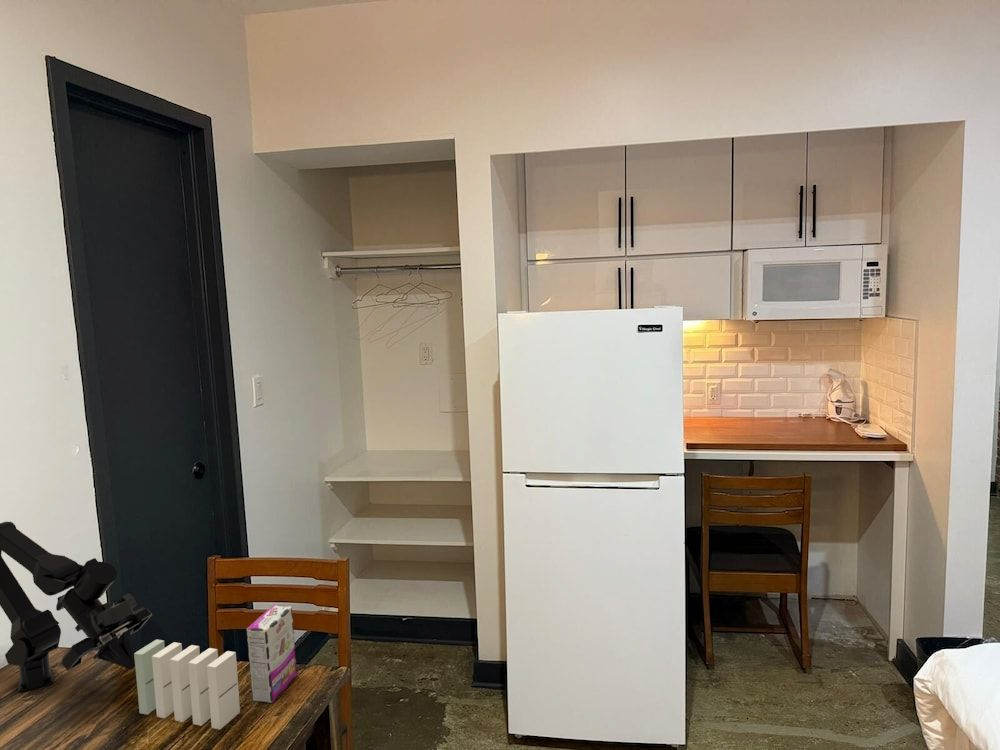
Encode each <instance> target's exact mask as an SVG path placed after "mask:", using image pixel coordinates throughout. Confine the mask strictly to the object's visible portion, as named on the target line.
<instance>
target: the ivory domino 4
mask: <svg viewBox="0 0 1000 750" xmlns="http://www.w3.org/2000/svg"><path fill="white" fill-rule="evenodd" d="M207 674H208V687H209V700H210V712H211V718H210V723H211V724H210V725H211V729H216V730H222V729H223V728H224V727H225V726H226V725H228V724H229V723H230V722H231V721H232V720H234V718H235V717H237V715H239V714H240V713H241V707H240V693H239V677H238V665H237V652H236V651H230V650H227V651H225V652H223V653H222V654H221V655H220V656H218V658H217V659H216V660H214V661H213V662H212V663H210V664H209V665H207Z"/></svg>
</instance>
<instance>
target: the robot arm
mask: <svg viewBox="0 0 1000 750" xmlns="http://www.w3.org/2000/svg"><path fill="white" fill-rule="evenodd" d="M2 553H4V554H6V555H7V556H9V557H10V558H11V559H12V560H14V561H15V562H17V563H18V564H19V565H21V566H22V567H23V568H24V569H26V570H27V571H28V572H29V573H31V574H32V580H33V583H34V585H35V586H36V587H37V588H38V589H39V590H40V591H41V592H42V594H45V595H46V596H48V597H49V596H50V597H51V596H55V595H58V594H60V593H61V592H64V591H66V590H67V591H66V592H65V593H64V594H62V595H60V596H58V597H57V603H56V607H55V609H56V611H57V612H58V611H61V610H63V609H65V610H66V612H67V613H68V614H69V615H70V616H69V617H71V618H72V619H73V621H74V622H75V624H77V625H76V626H75V628H74V629H75V630H76V632H77V633H78V632H80V631H82V632H83V634H85V635H86V638H84V639H82V640H80V641H77V642H76V643H74V644H72V646H70V648H69V649H68V650H67V652H66V653H65V654H64V655H63V656H62V659H61V663H62V666H63V667H64V669H66V671H68V672H70V671H71V670H72V669H74V668H76V667H79V665H81V663H82V659H83V657H84V656H86V655H88V654H89V653H91V652H92V651H93V652H94V654H95V655H94V656H93V658H92V659H93V660H94V661H95V660H97V659H99V660H103V661H105V662H109V663H112V664H114V665H117V666H120V667H121V668H125V669H128V670H134V669H136V668H135V657H134V653H133V648H132V646H131V644H132V643H131V640H130V639H131V635H132V634H134V633H136V632H138V631H139V630H140V629H142V627H143V626H144V625H145V624H146V623H147V622H148V620H149V619H150V618H151V617H152V616H153V614H152V612H151V611H150V610H149V609H148V608H147V607H142V606H141V607H140V608H137V609H136V610H135V611H134V608H136V607H137V605H138V603H137V601H136V598H134V596H132V594H131V593H127V594H125V595H123V596H121V597H119V598H118V603H117V604H115V605H111V604H110V603H109V602H105V603H102V602H101V601H100V598H101V597H103V595H104V594H105V593H106V591H107V590H108V589H109V588H110V587H111V585H112V584H113V583H114V582H115V580H116V579H117V576H118V572H117V569H116V568H115V566H113V564H110V563H107V562H104V561H99V560H98V559H96V558H95V557H93V558H91V559H89V560H87V561H86V562H85V563H84V565H83V564H79V563H78V561H76V560H73V559H71V558H69V557H67V556H65V555H61V554H53V553H51V552H49V551H48V550H47V549H45V548H43V547H42V546H41V545H39V544H38V543H36V542H35V541H34V540H33V539H31V538H30V537H29V536H28V535H26V534H24V533H23V532H22V531H20V530H19V529H18V528H17V526H16V524H15V523H13V522H12V521H3V522H0V608H1V610H2V611H3V612H4V613H5V615H6V617H7V618H8V620H9V622H10V624H11V626H10V627H11V628H10V640H11V643H12V645H11V646H10V648H9V649H8V650H7V652H6V653H5V654H4V657H5V660H6V662H7V664H8V665H12V666H18V672H19V678H18V687H17V692H18V693H22V691H23V692H26V691H30V690H33V689H37V688H40V687H45V686H48V685H52V684H54V669H51V664H50V663H51V662H50V652H52V651H54V650H57V649H58V648H59V644H60V640H61V636H62V635H61V634H62V629H61V627H60V625H59V624H60V622H59V621H57V620H56V618H55V616H54V615H53V612H52V611H51V610H50V609H46V610H39V609H38V608H36V607H35V605H34V604H33V603H32V601H31V600H30V598H29V597H28V595H27V594H26V592H25V590H24V589H23V587H22V586H21V584H20V582H19V581H18V580H17V578H16V577H15V575H14V574H13V572H12V570H11V569H10V567H9V566H8V564H7V563H6V561H5V559H4V558H3V557H2V556H3V555H2ZM125 617H126V618H125ZM29 689H30V690H29Z"/></svg>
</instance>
